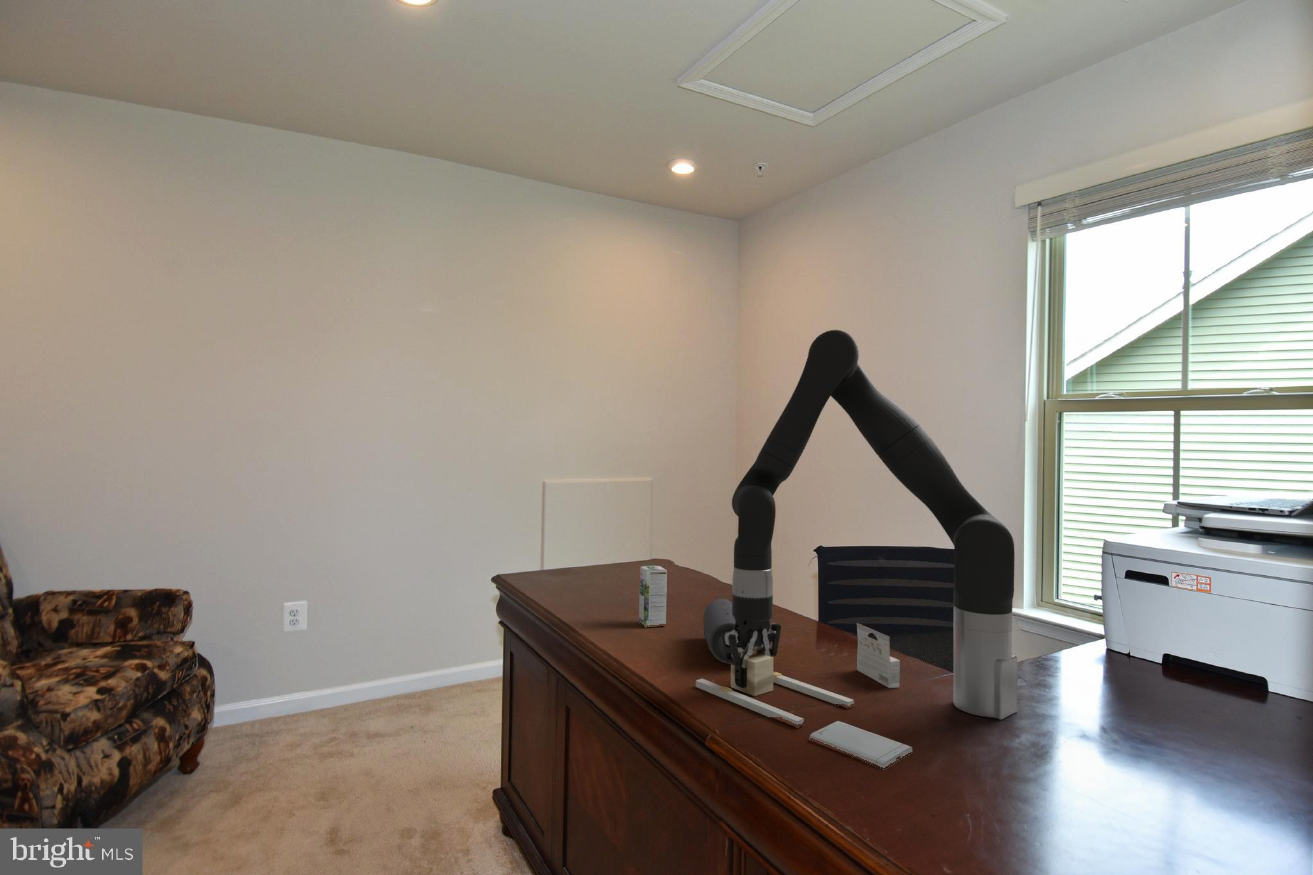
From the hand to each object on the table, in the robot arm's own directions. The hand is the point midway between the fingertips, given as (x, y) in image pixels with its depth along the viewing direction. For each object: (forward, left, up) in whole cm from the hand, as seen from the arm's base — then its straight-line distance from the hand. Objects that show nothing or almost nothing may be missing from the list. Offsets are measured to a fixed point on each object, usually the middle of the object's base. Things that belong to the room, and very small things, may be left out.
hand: (751, 683), depth 126 cm
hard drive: (-27, +5, -2) cm, 27 cm away
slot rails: (-5, 0, -1) cm, 5 cm away
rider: (0, 0, -1) cm, 1 cm away
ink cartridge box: (-11, -24, -1) cm, 26 cm away
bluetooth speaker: (+19, -12, -1) cm, 23 cm away
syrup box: (+47, -14, -1) cm, 49 cm away
